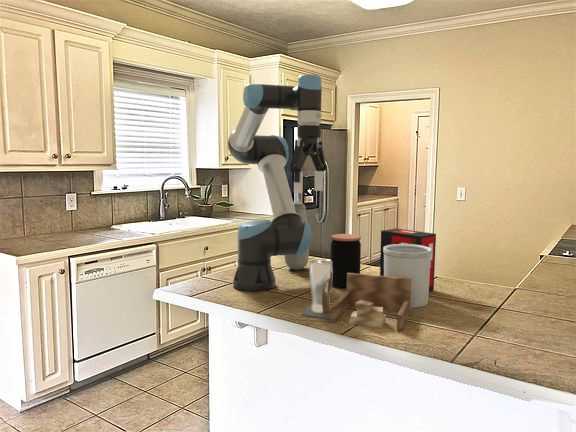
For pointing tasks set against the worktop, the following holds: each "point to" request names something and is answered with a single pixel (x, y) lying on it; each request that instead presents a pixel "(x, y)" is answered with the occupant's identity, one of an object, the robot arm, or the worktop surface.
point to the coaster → (310, 314)
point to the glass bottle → (299, 259)
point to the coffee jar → (345, 257)
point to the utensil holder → (410, 268)
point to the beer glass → (320, 285)
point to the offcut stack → (368, 315)
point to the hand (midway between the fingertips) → (308, 191)
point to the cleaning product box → (409, 238)
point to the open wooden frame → (376, 295)
